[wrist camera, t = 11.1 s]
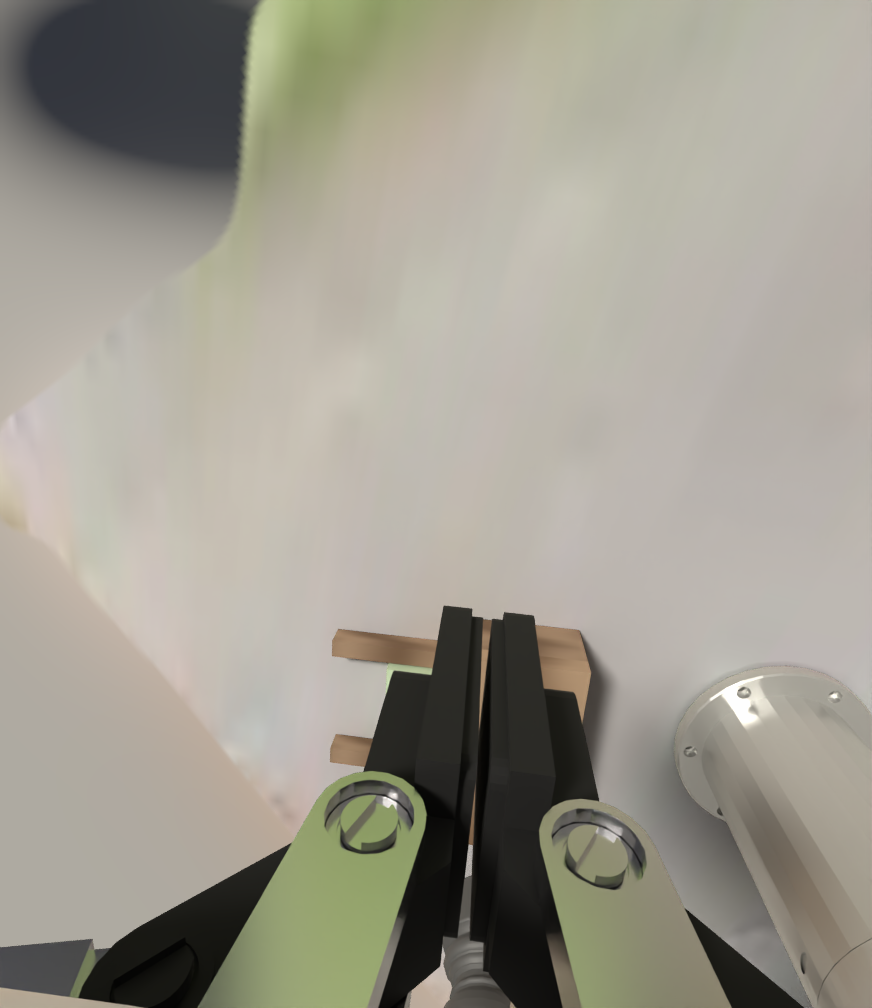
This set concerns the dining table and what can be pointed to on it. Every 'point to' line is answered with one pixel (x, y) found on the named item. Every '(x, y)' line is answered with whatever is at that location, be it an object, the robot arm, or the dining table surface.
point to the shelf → (558, 665)
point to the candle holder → (469, 966)
